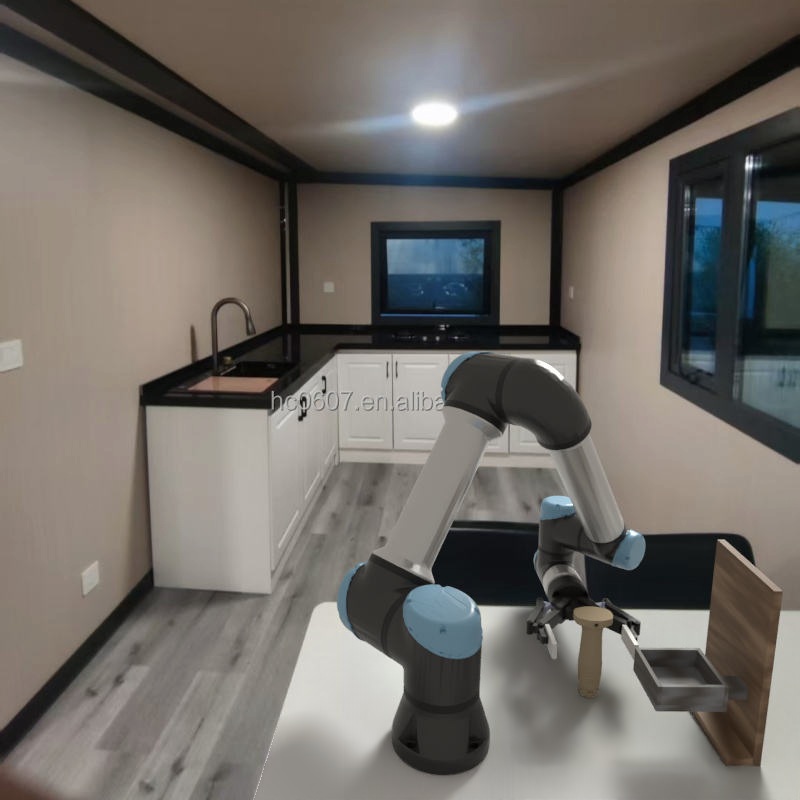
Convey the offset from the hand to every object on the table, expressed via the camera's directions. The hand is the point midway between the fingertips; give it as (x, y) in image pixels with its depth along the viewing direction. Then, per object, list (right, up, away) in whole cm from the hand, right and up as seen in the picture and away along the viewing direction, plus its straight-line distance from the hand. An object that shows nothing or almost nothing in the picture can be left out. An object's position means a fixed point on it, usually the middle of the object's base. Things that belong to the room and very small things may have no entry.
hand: (595, 652), depth 115 cm
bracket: (+13, -10, -5) cm, 17 cm away
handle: (0, -9, +4) cm, 9 cm away
